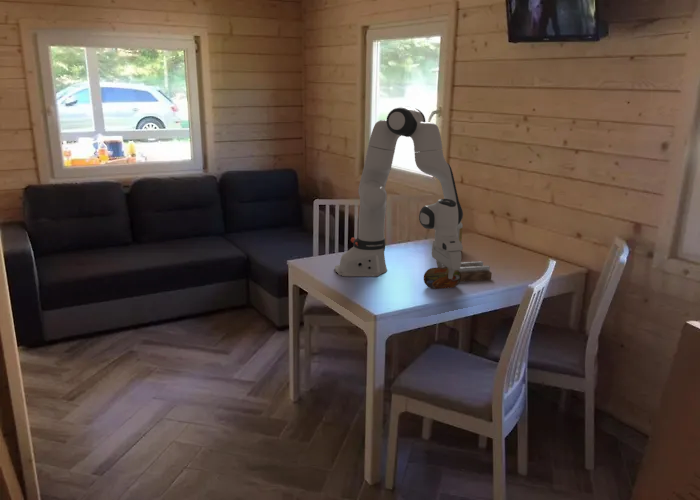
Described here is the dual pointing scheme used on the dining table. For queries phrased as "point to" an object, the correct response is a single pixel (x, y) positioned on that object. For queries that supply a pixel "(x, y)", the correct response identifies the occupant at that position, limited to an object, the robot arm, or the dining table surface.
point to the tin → (441, 278)
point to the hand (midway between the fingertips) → (444, 274)
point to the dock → (476, 276)
